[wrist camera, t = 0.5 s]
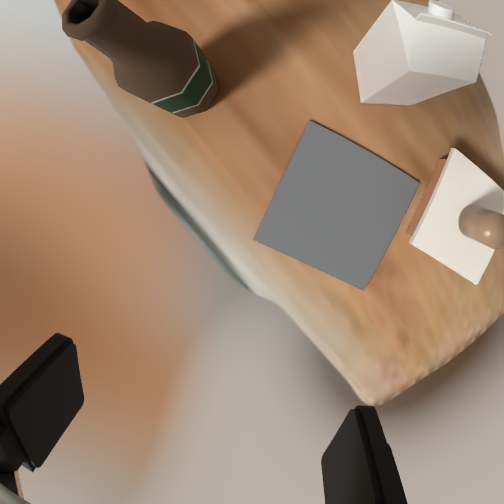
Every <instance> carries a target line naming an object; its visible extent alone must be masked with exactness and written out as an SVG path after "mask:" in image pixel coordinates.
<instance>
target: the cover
mask: <svg viewBox="0 0 504 504" xmlns="http://www.w3.org/2000/svg"><path fill="white" fill-rule="evenodd" d="M409 243H410V244H412V245H413V246H415V247H417V248H418V249H420V250H422V251H423V252H425V253H427V254H428V255H430V256H432V257H433V258H435V259H436V260H438V261H440V262H441V263H443V264H444V265H446V266H448V267H449V268H451V269H452V270H454V271H455V272H457V273H459V274H460V275H462V276H463V277H465V278H466V279H468V280H469V281H471V282H472V283H474V284H475V285H477V284H478V282H479V280H480V278H481V276H482V275H483V273H484V271H485V269H486V267H487V265H488V263H489V261H490V259H491V257H492V255H493V253H494V250H497V249H500V248H501V247H503V246H504V190H502V189H501V188H500V187H499V186H498V185H497V184H496V183H495V182H494V181H493V180H492V179H491V178H490V177H489V176H487V175H486V174H485V173H484V172H483V171H482V170H481V169H480V168H478V167H477V166H476V165H475V164H474V163H473V162H471V161H470V160H469V159H468V158H467V157H465V156H464V155H463V154H462V153H460V152H459V151H458V150H457V149H455V148H451V150H450V153H449V156H448V158H447V161H446V163H445V166H444V168H443V170H442V173H441V175H440V178H439V180H438V182H437V185H436V187H435V189H434V191H433V194H432V196H431V198H430V200H429V203H428V205H427V207H426V209H425V211H424V213H423V215H422V217H421V219H420V221H419V224H418V226H417V228H416V230H415V232H414V234H413V236H412V237H411V239H410V241H409Z"/></svg>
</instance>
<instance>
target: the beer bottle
mask: <svg viewBox="0 0 504 504" xmlns="http://www.w3.org/2000/svg"><path fill="white" fill-rule="evenodd" d="M62 29H63V30H64V32H65V33H66V35H67V36H69V37H72V38H75V39H78V40H81V41H83V40H84V41H86V42H87V43H89V44H90V45H92V46H93V47H95V48H96V49H97V50H99V51H100V52H102V53H103V54H104V55H106V56H107V57H109V58H110V59H111V61H112V62H113V67H114V74H115V79H116V81H117V83H118V86H119V87H121V88H122V89H124V90H125V91H127V92H129V93H131V94H133V95H135V96H137V97H139V98H141V99H143V100H145V101H147V102H149V103H151V104H154V105H156V106H158V107H160V108H162V109H164V110H167V111H169V112H171V113H173V114H175V115H177V116H179V117H183V118H184V117H187V116H190V115H194V114H197V113H200V112H204V111H206V110H207V108H208V107H209V105H210V104H211V102H212V101H213V99H214V98H215V96H216V94H217V93H218V86H217V82H216V78H215V74H214V70H213V68H212V66H211V64H210V63H209V61H208V60H207V58H206V57H205V55H204V54H203V53H202V51H201V50H200V48H199V47H198V45H197V44H196V42H195V41H194V39H193V38H192V37H191V36H190V35H189V34H188V33H187V32H185V31H183V30H180V29H177V28H175V27H172V26H169V25H166V24H164V23H161V22H156V21H151V22H148V23H147V22H145V21H144V20H143V19H142V18H140V17H139V16H138V15H136V14H135V13H134V12H132V11H131V10H130V9H129V8H127V7H126V6H124V5H123V4H122V3H120V2H119V1H118V0H72V1H71V2H70V3H69V5H68V6H67V8H66V9H65V11H64V12H63V14H62Z"/></svg>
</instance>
